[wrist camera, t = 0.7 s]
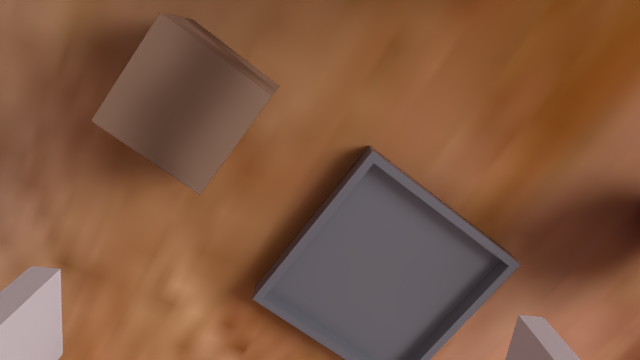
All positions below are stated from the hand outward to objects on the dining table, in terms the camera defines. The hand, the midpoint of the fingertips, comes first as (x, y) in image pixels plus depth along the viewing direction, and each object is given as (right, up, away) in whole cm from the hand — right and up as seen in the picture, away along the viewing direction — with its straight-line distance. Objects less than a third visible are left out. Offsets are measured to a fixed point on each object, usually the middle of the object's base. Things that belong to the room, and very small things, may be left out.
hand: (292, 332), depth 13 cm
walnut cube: (-7, +10, +18) cm, 22 cm away
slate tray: (+6, -3, +22) cm, 23 cm away
